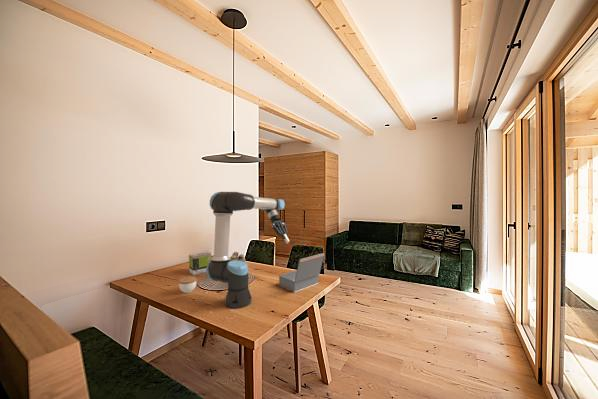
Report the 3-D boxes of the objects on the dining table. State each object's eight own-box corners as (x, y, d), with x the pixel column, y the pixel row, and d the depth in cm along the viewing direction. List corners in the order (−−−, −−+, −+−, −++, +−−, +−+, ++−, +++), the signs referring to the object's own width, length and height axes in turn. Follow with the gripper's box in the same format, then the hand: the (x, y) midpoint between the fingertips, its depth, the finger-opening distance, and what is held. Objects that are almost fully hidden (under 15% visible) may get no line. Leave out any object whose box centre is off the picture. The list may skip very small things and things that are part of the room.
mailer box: (294, 292, 160) (294, 281, 159) (279, 285, 172) (279, 275, 171) (318, 283, 174) (318, 273, 174) (303, 277, 186) (302, 268, 186)
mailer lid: (294, 281, 159) (295, 282, 159) (299, 259, 155) (300, 260, 154) (318, 273, 174) (319, 274, 173) (323, 253, 170) (324, 253, 169)
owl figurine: (235, 277, 188) (234, 255, 188) (223, 275, 194) (222, 253, 193) (250, 270, 204) (250, 250, 203) (239, 268, 210) (239, 248, 209)
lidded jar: (200, 290, 166) (199, 276, 165) (185, 295, 157) (184, 281, 156) (190, 286, 172) (190, 273, 171) (175, 292, 163) (175, 277, 162)
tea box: (207, 268, 212) (207, 250, 212) (212, 271, 204) (211, 253, 204) (189, 272, 203) (188, 254, 202) (193, 275, 195) (192, 256, 194)
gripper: (279, 219, 199) (292, 244, 187) (265, 221, 190) (278, 246, 178) (283, 213, 195) (297, 237, 182) (269, 214, 186) (282, 240, 174)
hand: (288, 242), depth 180 cm, fingers closed
